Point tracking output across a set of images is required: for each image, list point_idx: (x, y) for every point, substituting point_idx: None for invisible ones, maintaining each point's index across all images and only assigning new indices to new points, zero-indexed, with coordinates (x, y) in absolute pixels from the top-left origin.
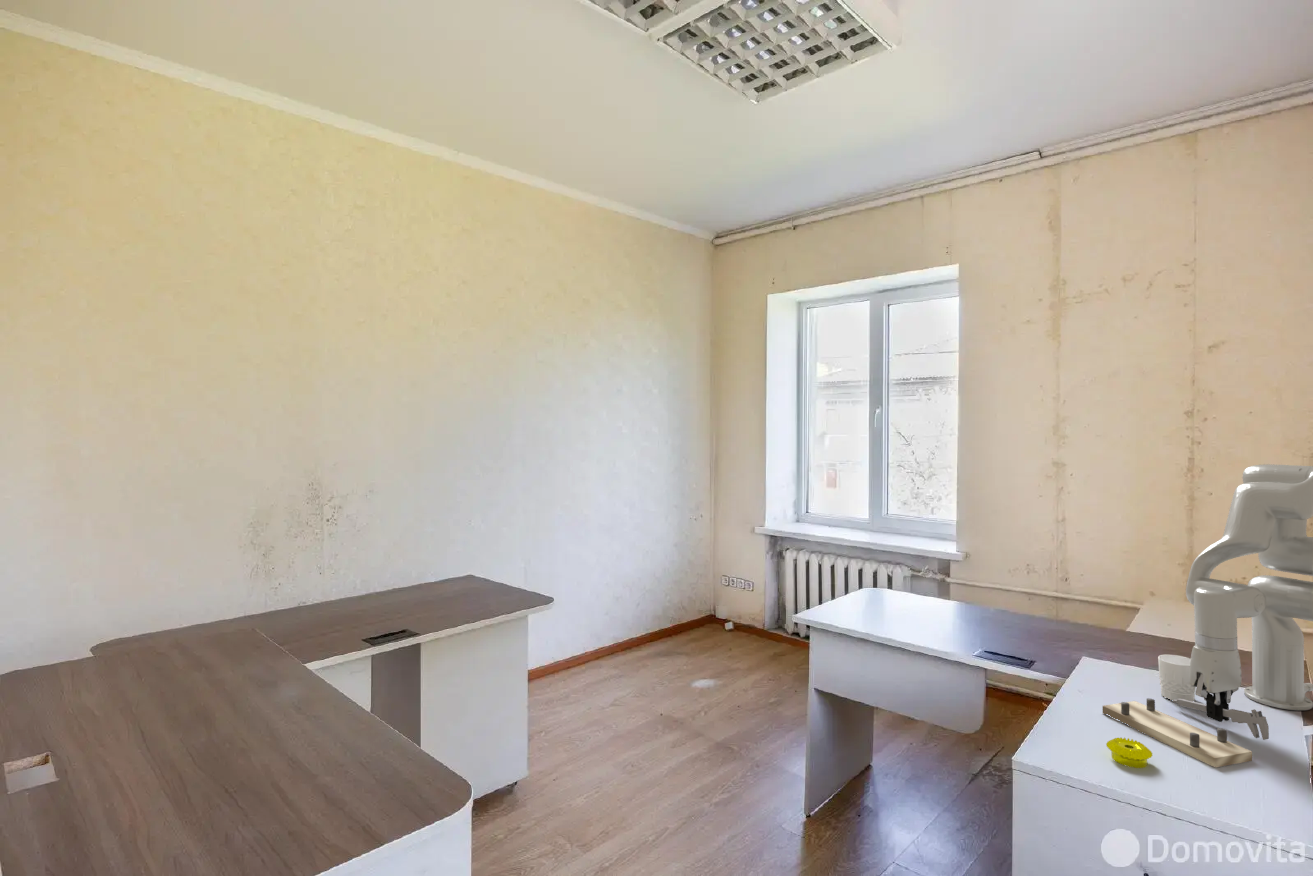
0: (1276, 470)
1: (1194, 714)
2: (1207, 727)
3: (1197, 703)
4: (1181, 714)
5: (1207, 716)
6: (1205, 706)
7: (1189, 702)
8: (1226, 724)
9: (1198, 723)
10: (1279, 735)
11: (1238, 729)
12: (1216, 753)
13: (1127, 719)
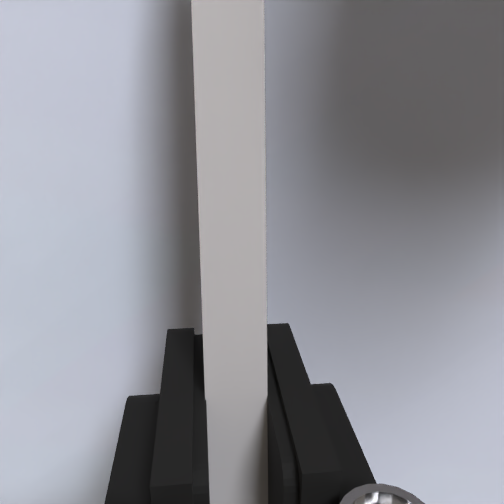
0: None
1: (296, 55)
2: (126, 320)
3: (217, 211)
4: (150, 6)
5: (169, 332)
6: (206, 340)
7: (195, 86)
8: (353, 307)
9: (122, 238)
10: (497, 494)
11: (344, 391)
12: None
13: None
